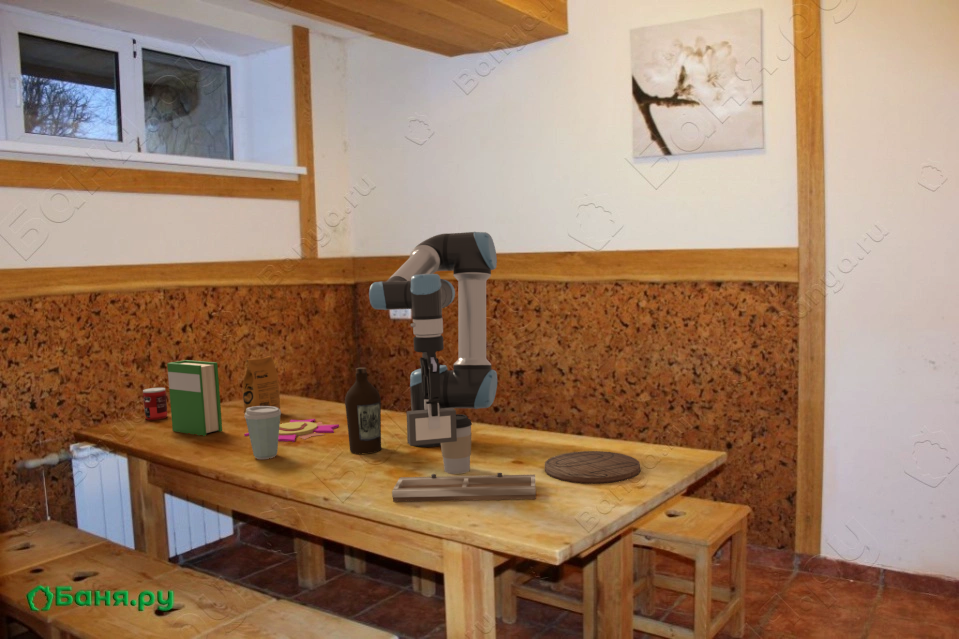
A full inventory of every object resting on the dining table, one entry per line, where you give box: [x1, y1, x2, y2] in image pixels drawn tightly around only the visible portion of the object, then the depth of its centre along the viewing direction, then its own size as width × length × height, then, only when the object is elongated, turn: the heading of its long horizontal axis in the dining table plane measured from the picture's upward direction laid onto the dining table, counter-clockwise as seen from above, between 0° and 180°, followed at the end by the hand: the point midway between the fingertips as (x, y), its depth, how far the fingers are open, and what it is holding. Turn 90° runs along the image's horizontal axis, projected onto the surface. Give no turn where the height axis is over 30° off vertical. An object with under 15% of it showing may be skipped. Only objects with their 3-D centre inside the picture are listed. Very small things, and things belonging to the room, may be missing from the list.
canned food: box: [142, 387, 168, 421], centre depth 294 cm, size 8×8×11 cm
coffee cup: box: [440, 413, 473, 475], centre depth 208 cm, size 9×9×15 cm
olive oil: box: [344, 366, 382, 455], centre depth 232 cm, size 11×11×25 cm
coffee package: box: [241, 355, 281, 415], centre depth 290 cm, size 10×12×22 cm
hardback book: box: [166, 359, 223, 437], centre depth 268 cm, size 18×7×24 cm, turn 56°
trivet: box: [544, 450, 641, 485], centre depth 204 cm, size 25×25×2 cm
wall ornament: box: [243, 418, 340, 443], centre depth 262 cm, size 30×2×30 cm
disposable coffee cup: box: [244, 406, 282, 460], centre depth 230 cm, size 11×11×15 cm
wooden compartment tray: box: [391, 472, 537, 503], centre depth 188 cm, size 11×34×4 cm, turn 86°
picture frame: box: [406, 408, 457, 447], centre depth 197 cm, size 4×12×8 cm, turn 105°
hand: (432, 426), depth 197 cm, fingers closed on picture frame, 4 cm apart
